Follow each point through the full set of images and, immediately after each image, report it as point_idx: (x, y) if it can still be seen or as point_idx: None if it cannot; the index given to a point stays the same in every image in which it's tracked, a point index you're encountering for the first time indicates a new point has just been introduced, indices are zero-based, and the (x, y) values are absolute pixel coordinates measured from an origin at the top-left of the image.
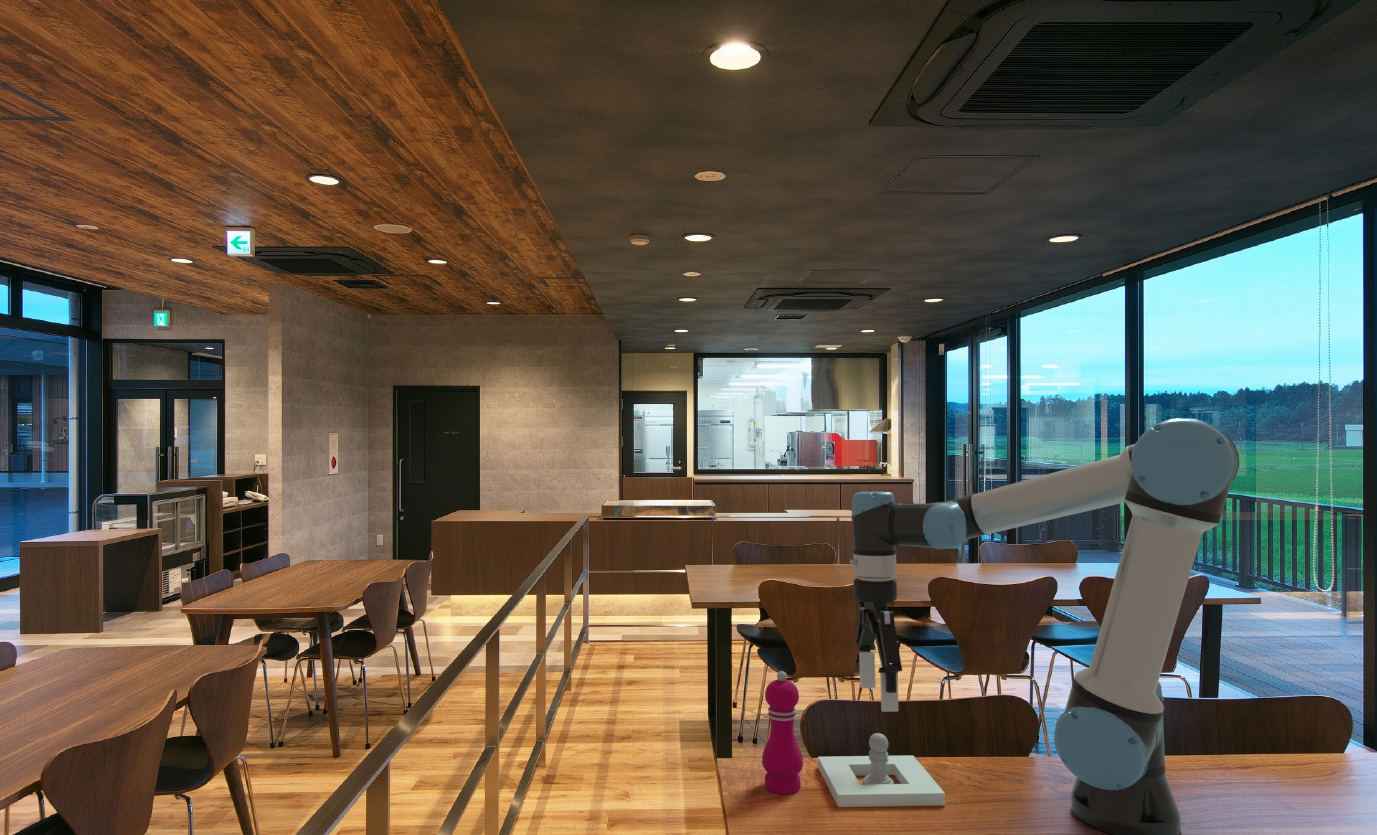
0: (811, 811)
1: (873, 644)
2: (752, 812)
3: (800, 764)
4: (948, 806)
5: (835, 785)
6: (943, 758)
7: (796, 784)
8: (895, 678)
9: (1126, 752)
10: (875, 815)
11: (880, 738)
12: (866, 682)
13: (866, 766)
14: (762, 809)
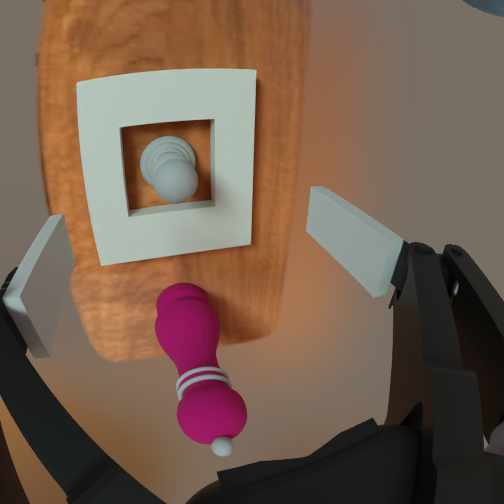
0: (254, 269)
1: (13, 335)
2: (252, 327)
3: (205, 307)
4: (251, 67)
5: (218, 245)
6: (49, 24)
7: (200, 293)
8: (405, 242)
9: None
10: (272, 188)
11: (193, 183)
12: (66, 254)
13: (124, 181)
14: (245, 319)
